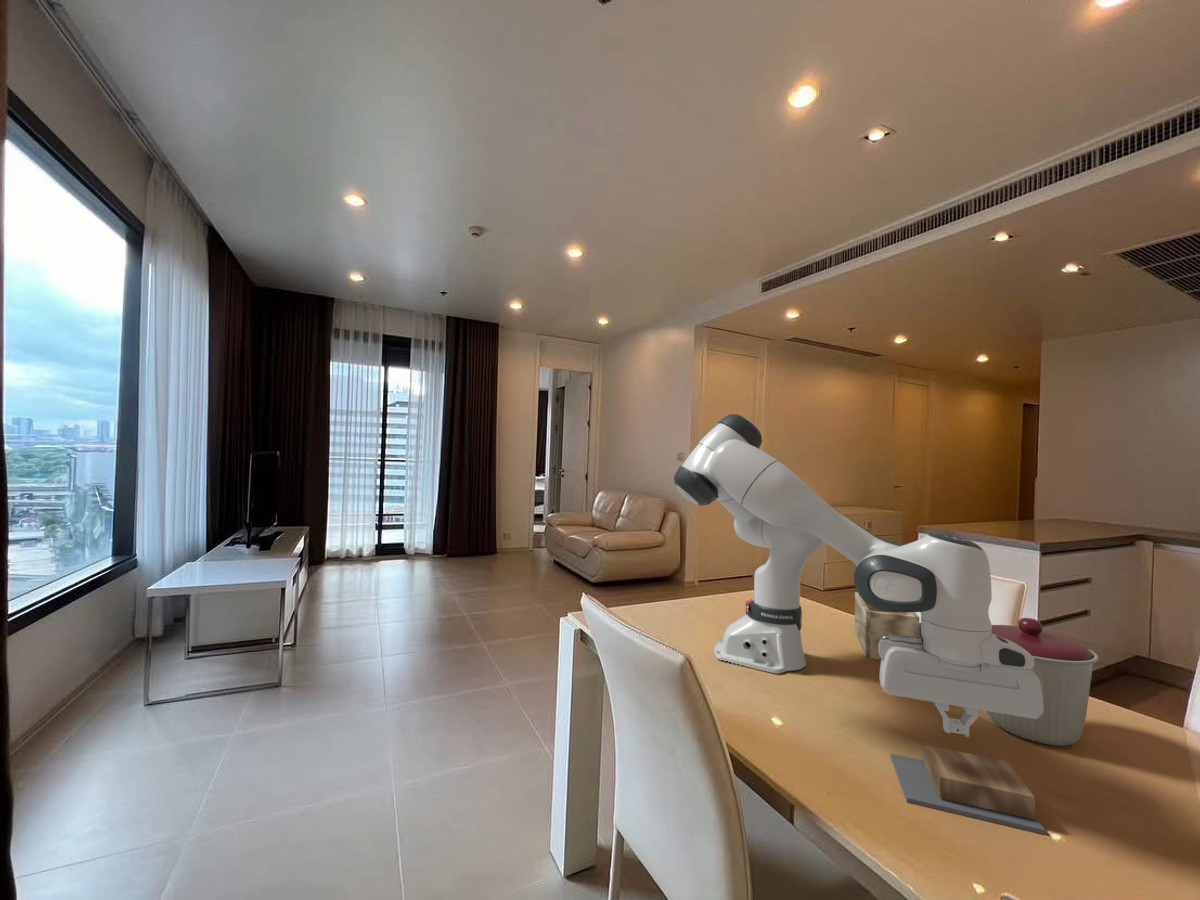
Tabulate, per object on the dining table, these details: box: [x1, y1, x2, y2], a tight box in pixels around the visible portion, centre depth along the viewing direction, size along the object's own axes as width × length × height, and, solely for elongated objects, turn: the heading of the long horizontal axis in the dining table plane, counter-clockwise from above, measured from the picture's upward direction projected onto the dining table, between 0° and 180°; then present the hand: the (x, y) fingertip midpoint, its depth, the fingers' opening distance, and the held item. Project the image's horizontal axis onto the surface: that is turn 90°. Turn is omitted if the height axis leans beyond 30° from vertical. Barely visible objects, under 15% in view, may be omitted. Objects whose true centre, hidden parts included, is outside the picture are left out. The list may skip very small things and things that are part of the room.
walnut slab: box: [923, 744, 1036, 820], centre depth 72 cm, size 3×9×11 cm
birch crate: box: [854, 591, 920, 660], centre depth 134 cm, size 12×22×12 cm, turn 159°
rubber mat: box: [889, 753, 1046, 835], centre depth 73 cm, size 16×12×1 cm
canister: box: [986, 617, 1099, 747], centre depth 92 cm, size 18×18×21 cm
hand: (955, 733), depth 73 cm, fingers closed
